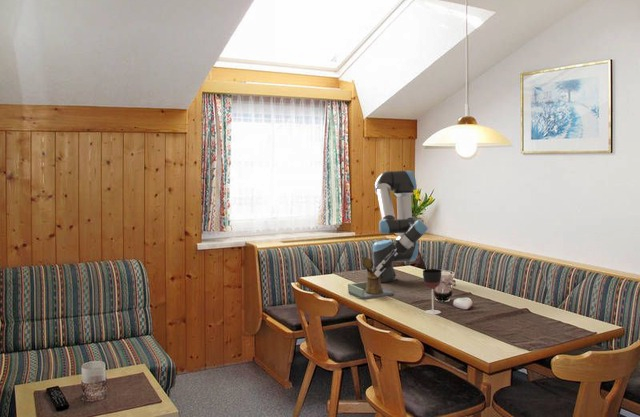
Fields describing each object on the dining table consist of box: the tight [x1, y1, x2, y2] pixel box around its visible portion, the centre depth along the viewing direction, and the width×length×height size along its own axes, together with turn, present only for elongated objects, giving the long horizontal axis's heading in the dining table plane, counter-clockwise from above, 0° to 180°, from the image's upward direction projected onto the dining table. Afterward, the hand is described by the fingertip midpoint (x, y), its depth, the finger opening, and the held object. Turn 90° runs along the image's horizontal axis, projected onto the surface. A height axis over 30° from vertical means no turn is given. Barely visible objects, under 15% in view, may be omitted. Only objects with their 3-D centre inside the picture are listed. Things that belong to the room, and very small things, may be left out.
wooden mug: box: [362, 256, 383, 294], centre depth 326 cm, size 9×14×18 cm, turn 23°
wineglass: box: [422, 268, 442, 315], centre depth 286 cm, size 8×9×20 cm
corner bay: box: [347, 281, 394, 300], centre depth 326 cm, size 19×16×5 cm
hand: (376, 272), depth 324 cm, fingers open, 13 cm apart
